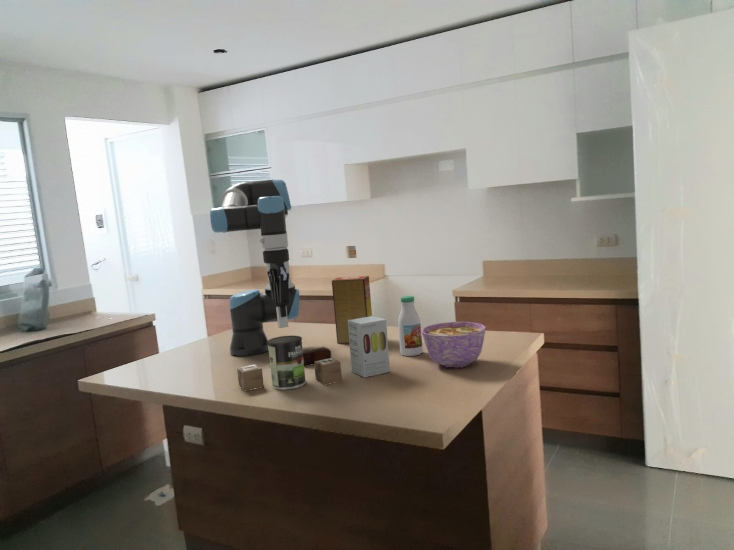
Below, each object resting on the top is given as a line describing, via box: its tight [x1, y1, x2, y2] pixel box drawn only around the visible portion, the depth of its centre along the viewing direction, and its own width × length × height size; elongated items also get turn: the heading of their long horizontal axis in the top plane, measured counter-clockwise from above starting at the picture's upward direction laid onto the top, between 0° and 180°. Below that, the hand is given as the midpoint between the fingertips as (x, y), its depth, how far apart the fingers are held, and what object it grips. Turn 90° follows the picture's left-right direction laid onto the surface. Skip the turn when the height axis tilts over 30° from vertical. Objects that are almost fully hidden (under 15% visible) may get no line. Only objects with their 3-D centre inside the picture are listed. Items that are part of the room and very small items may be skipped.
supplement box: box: [348, 315, 391, 379], centre depth 174 cm, size 10×9×17 cm
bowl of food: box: [421, 321, 487, 368], centre depth 175 cm, size 20×20×12 cm
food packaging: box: [331, 275, 373, 344], centre depth 218 cm, size 13×9×25 cm
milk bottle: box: [397, 295, 424, 357], centre depth 191 cm, size 8×8×20 cm
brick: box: [303, 346, 332, 367], centre depth 191 cm, size 11×4×5 cm, turn 119°
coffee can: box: [267, 335, 307, 391], centre depth 168 cm, size 10×10×14 cm
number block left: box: [236, 363, 265, 392], centre depth 169 cm, size 6×6×6 cm
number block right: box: [314, 357, 343, 386], centre depth 169 cm, size 6×6×6 cm
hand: (283, 327), depth 167 cm, fingers closed
